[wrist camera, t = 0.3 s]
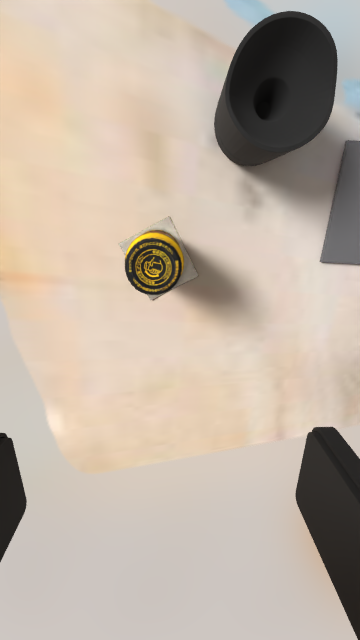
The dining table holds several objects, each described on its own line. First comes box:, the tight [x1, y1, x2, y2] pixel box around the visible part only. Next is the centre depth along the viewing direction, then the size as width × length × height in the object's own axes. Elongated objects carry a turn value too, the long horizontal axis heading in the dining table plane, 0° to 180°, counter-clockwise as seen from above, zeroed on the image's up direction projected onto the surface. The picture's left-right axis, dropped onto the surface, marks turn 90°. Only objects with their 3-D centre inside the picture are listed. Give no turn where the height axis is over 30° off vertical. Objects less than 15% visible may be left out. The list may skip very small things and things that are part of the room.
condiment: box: [119, 216, 198, 300], centre depth 32 cm, size 7×8×12 cm
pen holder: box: [214, 11, 337, 166], centre depth 28 cm, size 9×9×10 cm
